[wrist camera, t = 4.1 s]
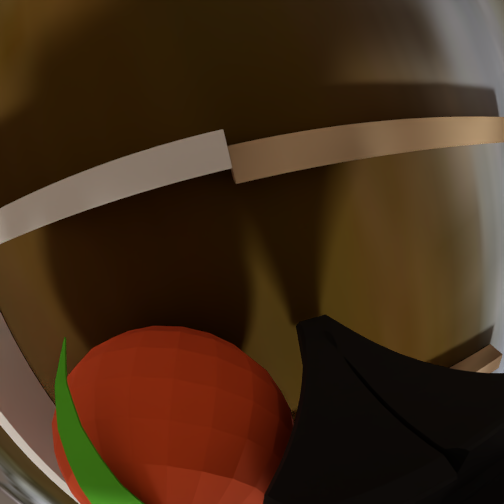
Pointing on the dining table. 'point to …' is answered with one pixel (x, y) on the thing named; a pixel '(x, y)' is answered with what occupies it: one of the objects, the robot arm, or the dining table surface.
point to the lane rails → (365, 146)
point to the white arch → (59, 207)
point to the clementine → (168, 421)
